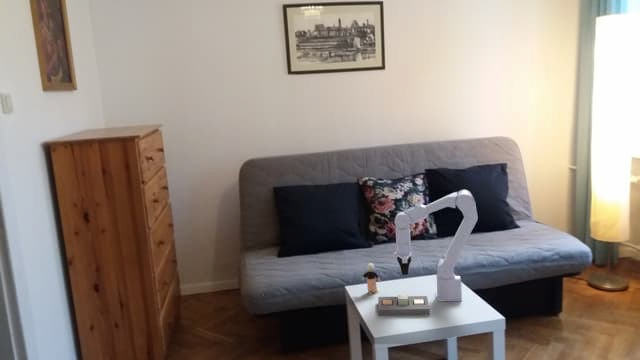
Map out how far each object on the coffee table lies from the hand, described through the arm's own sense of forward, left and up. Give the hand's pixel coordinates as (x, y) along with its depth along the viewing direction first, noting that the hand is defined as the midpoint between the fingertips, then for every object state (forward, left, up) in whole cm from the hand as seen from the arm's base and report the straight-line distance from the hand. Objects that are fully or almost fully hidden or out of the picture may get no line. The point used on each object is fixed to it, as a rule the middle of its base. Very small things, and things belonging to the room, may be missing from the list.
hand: (404, 274), depth 205 cm
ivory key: (-5, +12, -9) cm, 16 cm away
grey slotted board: (+2, +12, -9) cm, 15 cm away
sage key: (+1, +12, -7) cm, 14 cm away
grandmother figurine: (+14, -5, -10) cm, 18 cm away
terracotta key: (+7, +12, -9) cm, 17 cm away
